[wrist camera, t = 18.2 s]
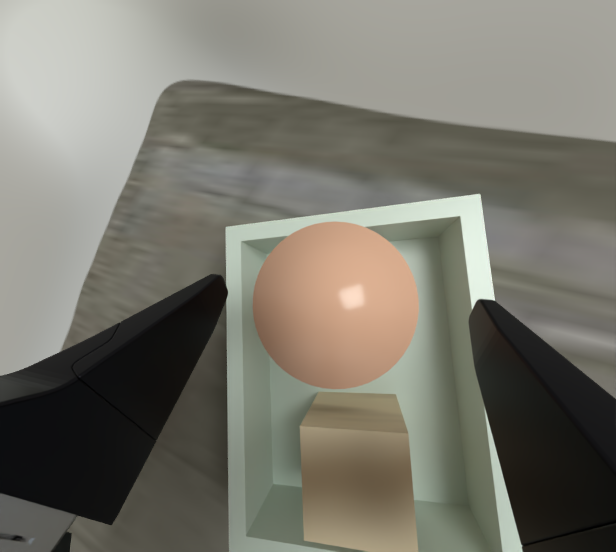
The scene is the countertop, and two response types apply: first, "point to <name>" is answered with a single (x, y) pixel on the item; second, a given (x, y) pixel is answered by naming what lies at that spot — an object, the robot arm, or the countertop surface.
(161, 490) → the countertop surface
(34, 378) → the robot arm
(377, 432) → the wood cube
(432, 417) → the tote
